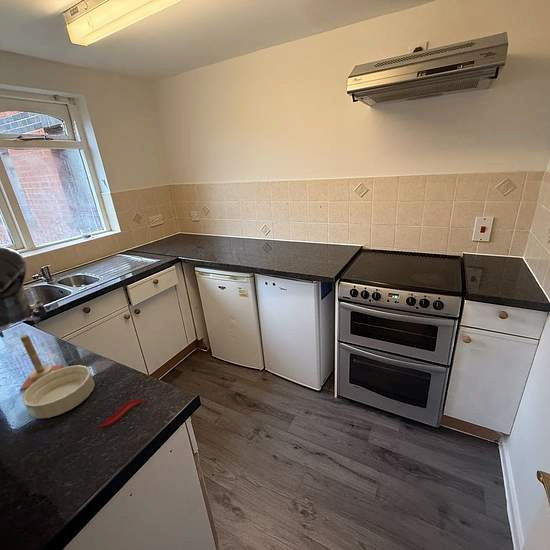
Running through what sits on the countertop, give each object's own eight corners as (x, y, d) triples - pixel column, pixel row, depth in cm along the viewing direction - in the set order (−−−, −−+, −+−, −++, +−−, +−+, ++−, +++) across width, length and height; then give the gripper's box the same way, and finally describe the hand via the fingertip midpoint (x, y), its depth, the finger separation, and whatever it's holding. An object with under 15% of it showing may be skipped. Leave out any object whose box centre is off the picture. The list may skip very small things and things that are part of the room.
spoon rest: (20, 390, 91) (19, 389, 91) (32, 372, 100) (31, 371, 99) (53, 382, 94) (53, 380, 94) (62, 365, 102) (62, 363, 102)
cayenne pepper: (144, 396, 84) (143, 391, 83) (148, 406, 80) (147, 400, 80) (97, 418, 78) (95, 413, 77) (99, 430, 74) (96, 424, 74)
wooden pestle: (28, 384, 93) (7, 344, 88) (35, 372, 98) (17, 333, 93) (50, 378, 95) (31, 338, 89) (56, 367, 100) (39, 329, 95)
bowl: (18, 428, 77) (10, 413, 76) (42, 387, 92) (36, 374, 90) (88, 408, 82) (81, 394, 80) (100, 372, 96) (95, 359, 94)
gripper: (36, 283, 85) (41, 308, 97) (-32, 302, 75) (-17, 328, 87) (47, 304, 84) (51, 327, 95) (-20, 326, 74) (-7, 350, 85)
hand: (19, 328), depth 91 cm, fingers open, 8 cm apart
